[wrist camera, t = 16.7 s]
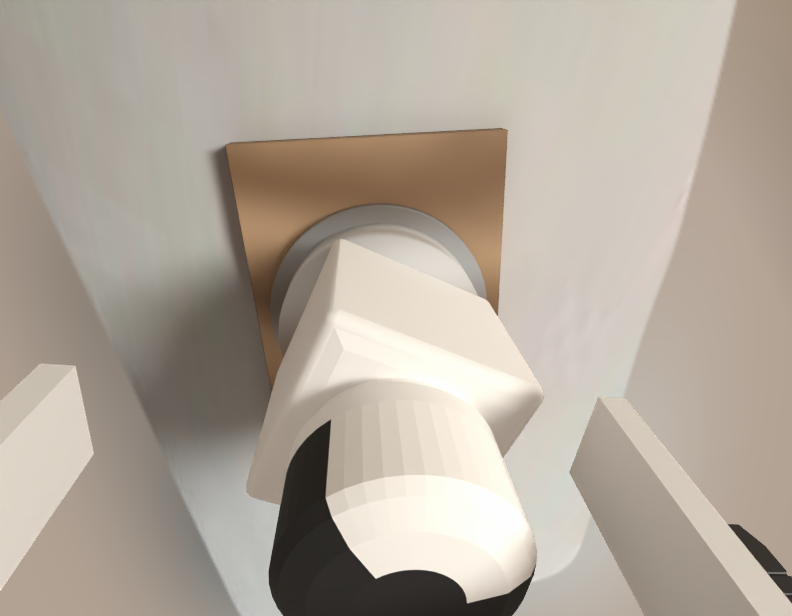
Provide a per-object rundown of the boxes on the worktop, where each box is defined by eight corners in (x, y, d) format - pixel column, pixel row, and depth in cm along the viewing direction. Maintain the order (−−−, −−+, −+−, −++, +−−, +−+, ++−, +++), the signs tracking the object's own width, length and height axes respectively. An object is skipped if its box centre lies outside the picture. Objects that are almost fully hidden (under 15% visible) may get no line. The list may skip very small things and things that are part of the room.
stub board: (231, 142, 21) (204, 154, 17) (501, 128, 21) (530, 136, 18) (284, 432, 28) (273, 484, 24) (487, 415, 28) (506, 463, 25)
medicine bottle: (417, 422, 23) (471, 722, 12) (275, 374, 21) (191, 675, 10) (490, 299, 20) (642, 538, 10) (336, 233, 19) (309, 435, 8)
